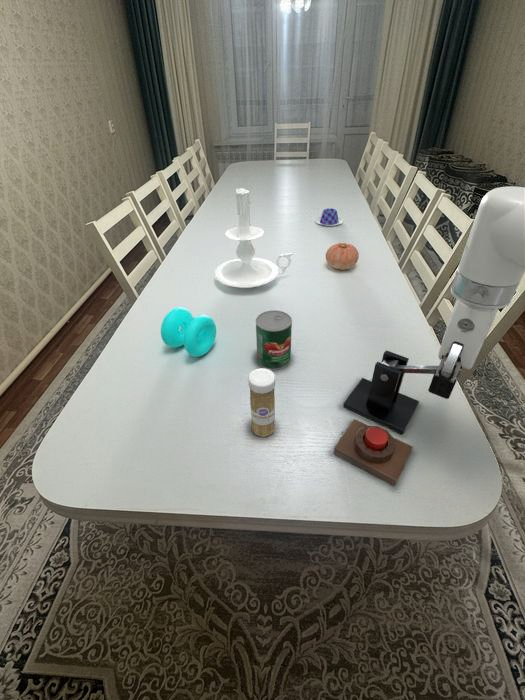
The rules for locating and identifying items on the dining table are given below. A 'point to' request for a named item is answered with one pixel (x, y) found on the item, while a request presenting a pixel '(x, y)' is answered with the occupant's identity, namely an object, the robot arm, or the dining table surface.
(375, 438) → the button
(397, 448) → the button block
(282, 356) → the canned tomato
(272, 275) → the candlestick
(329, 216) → the pudding
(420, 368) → the lever
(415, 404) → the bracket
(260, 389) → the sprinkles bottle
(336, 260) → the orange round vegetable
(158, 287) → the dining table surface
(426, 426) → the dining table surface
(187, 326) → the turquoise yoyo
